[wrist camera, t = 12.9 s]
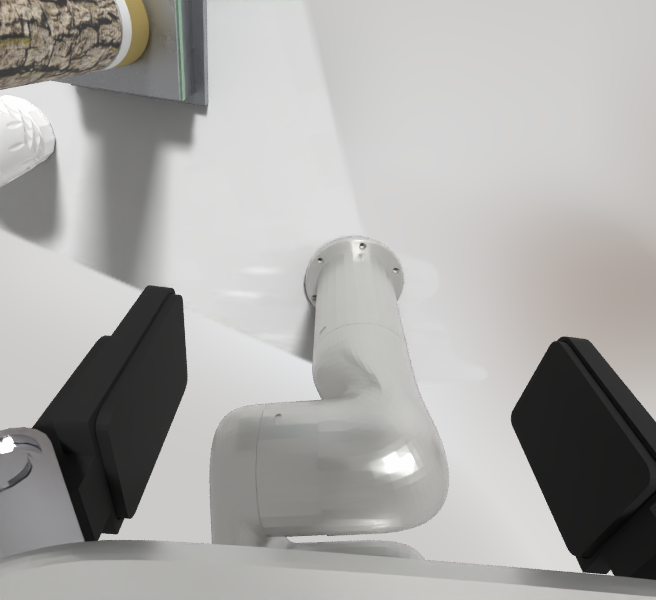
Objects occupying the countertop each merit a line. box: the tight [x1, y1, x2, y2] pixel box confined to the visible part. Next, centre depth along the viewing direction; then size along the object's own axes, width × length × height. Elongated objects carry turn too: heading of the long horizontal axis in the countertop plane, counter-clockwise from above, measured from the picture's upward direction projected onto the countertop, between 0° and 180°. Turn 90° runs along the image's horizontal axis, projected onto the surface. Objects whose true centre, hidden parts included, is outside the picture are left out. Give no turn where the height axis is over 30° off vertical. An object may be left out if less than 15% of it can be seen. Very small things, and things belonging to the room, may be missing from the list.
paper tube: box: [0, 0, 149, 90], centre depth 23 cm, size 7×7×25 cm
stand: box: [51, 0, 208, 106], centre depth 36 cm, size 13×13×6 cm
